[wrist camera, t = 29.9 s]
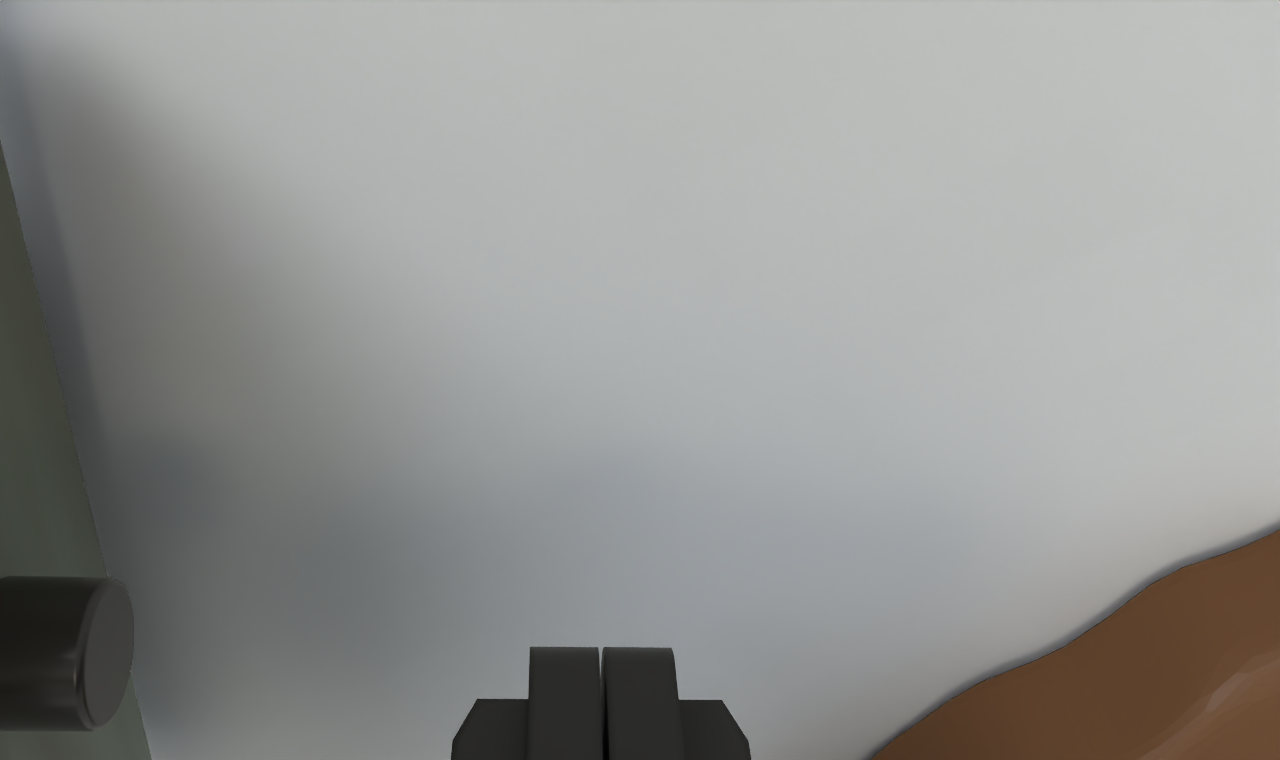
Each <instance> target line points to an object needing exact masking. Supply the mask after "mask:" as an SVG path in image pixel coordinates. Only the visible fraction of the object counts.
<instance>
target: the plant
mask: <svg viewBox="0 0 1280 760" xmlns="http://www.w3.org/2000/svg"><path fill="white" fill-rule="evenodd" d="M871 760H1280V530H1279V531H1277V532H1275V533H1273V534H1270V535H1268V536H1266V537H1264V538H1262V539H1260V540H1257V541H1255V542H1253V543H1251V544H1249V545H1247V546H1244V547H1242V548H1239V549H1236V550H1233V551H1231V552H1228V553H1225V554H1223V555H1219V556H1216V557H1213V558H1210V559H1207V560H1204V561H1201V562H1198V563H1195V564H1192V565H1189V566H1185V567H1183V568H1181V569H1179V570H1177V571H1175V572H1173V573H1172V574H1170V575H1168V576H1166V577H1164V578H1162V579H1161V580H1159V581H1157V582H1155V583H1153V584H1151V585H1150V586H1148V587H1147V588H1146V589H1144V590H1143V591H1142V592H1140V593H1139V594H1138V595H1137V596H1135V597H1134V598H1133V599H1131V600H1130V601H1129V602H1127V603H1126V604H1125V605H1123V606H1122V607H1121V608H1120V609H1118V610H1117V611H1116V612H1114V613H1113V614H1112V615H1110V616H1109V617H1108V618H1106V619H1105V620H1104V621H1102V622H1101V623H1099V624H1098V625H1096V626H1095V627H1093V628H1092V629H1090V630H1089V631H1087V632H1086V633H1084V634H1083V635H1081V636H1080V637H1078V638H1077V639H1075V640H1074V641H1072V642H1071V643H1069V644H1068V645H1066V646H1065V647H1063V648H1061V649H1059V650H1056V651H1054V652H1052V653H1050V654H1048V655H1046V656H1044V657H1042V658H1040V659H1038V660H1036V661H1033V662H1031V663H1028V664H1026V665H1023V666H1020V667H1018V668H1015V669H1013V670H1010V671H1008V672H1005V673H1003V674H1000V675H998V676H996V677H993V678H991V679H988V680H985V681H982V682H980V683H979V684H977V685H975V686H974V687H972V688H970V689H968V690H967V691H965V692H963V693H962V694H960V695H958V696H956V697H955V698H953V699H951V700H950V701H948V702H946V703H945V704H944V705H942V706H941V707H939V708H938V709H937V710H935V711H934V712H933V713H931V714H930V715H928V716H927V717H926V718H924V719H923V720H921V721H920V722H919V723H917V724H916V725H915V726H913V727H912V728H910V729H909V730H907V731H906V732H904V733H903V734H901V735H899V736H898V737H897V738H895V739H894V740H893V741H892V742H891V743H890V744H888V745H887V746H886V747H885V748H884V749H883V750H881V751H880V752H879V753H878V754H877V755H876V756H874V757H873V758H872V759H871Z"/></svg>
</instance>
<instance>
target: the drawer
mask: <svg viewBox="0 0 1280 760" xmlns="http://www.w3.org/2000/svg"><path fill="white" fill-rule="evenodd" d="M133 649H134V618H133V611H132V605H131V601H130V597H129V594H128V591H127V589H126V587H125V586H124V585H123V583H122V582H120V581H118V580H116V579H114V578H111V577H107V574H106V570H105V566H104V562H103V558H102V554H101V550H100V546H99V542H98V538H97V534H96V529H95V525H94V521H93V517H92V513H91V509H90V505H89V501H88V497H87V493H86V489H85V485H84V480H83V476H82V472H81V468H80V464H79V460H78V456H77V452H76V448H75V444H74V440H73V435H72V431H71V427H70V423H69V419H68V415H67V411H66V407H65V403H64V399H63V395H62V391H61V386H60V382H59V378H58V374H57V370H56V366H55V362H54V358H53V354H52V350H51V346H50V341H49V337H48V333H47V329H46V325H45V321H44V317H43V313H42V309H41V305H40V301H39V297H38V292H37V288H36V284H35V280H34V276H33V272H32V268H31V264H30V260H29V256H28V252H27V247H26V243H25V239H24V235H23V231H22V227H21V223H20V219H19V215H18V211H17V207H16V203H15V198H14V194H13V190H12V186H11V182H10V178H9V174H8V170H7V166H6V162H5V158H4V153H3V149H2V145H1V141H0V760H152V758H151V754H150V750H149V746H148V742H147V738H146V734H145V730H144V726H143V722H142V717H141V713H140V709H139V705H138V701H137V697H136V693H135V689H134V685H133V681H132V677H131V672H130V671H131V665H132V658H133Z"/></svg>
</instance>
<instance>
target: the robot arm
mask: <svg viewBox="0 0 1280 760" xmlns="http://www.w3.org/2000/svg"><path fill="white" fill-rule="evenodd" d="M451 760H751V755H750V749H749V743H748V740H747V738H746V737H745V735H744V734H743V732H742V731H741V729H740V728H739V726H738V724H737V723H736V721H735V720H734V718H733V717H732V715H731V714H730V712H729V710H728V709H727V707H726V706H725V704H724V703H723V701H722V700H679V699H678V689H677V680H676V670H675V661H674V655H673V651H672V648H639V647H604V648H603V652H602V662H601V674H600V667H599V651H598V647H530V664H529V697H528V699H477V700H476V702H475V704H474V705H473V707H472V709H471V710H470V712H469V714H468V715H467V717H466V719H465V720H464V722H463V724H462V726H461V727H460V729H459V731H458V732H457V734H456V736H455V737H454V739H453V742H452V753H451Z"/></svg>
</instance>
